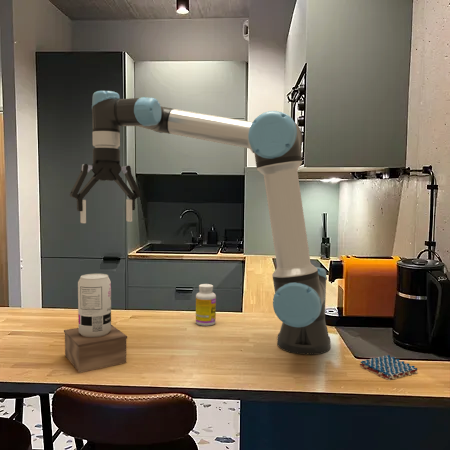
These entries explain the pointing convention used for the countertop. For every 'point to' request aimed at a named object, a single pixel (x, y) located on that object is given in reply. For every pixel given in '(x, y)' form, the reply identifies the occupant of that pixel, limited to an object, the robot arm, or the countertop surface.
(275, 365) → the countertop surface
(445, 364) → the countertop surface
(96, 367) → the walnut tea box
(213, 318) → the supplement bottle
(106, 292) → the supplement can
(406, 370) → the woven mat
